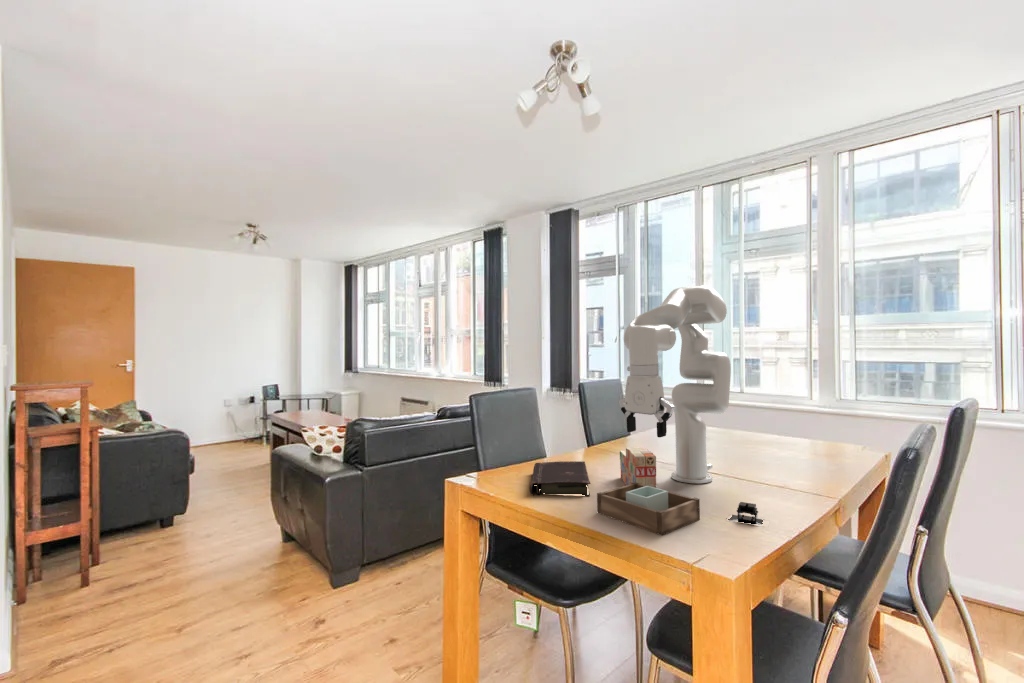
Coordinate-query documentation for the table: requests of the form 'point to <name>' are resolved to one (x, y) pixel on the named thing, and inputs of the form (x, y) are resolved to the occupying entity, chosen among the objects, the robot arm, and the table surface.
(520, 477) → the table surface
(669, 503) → the big crate
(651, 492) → the small crate
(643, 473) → the stack of blocks
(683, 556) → the table surface
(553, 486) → the diary
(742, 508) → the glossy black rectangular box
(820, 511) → the table surface
